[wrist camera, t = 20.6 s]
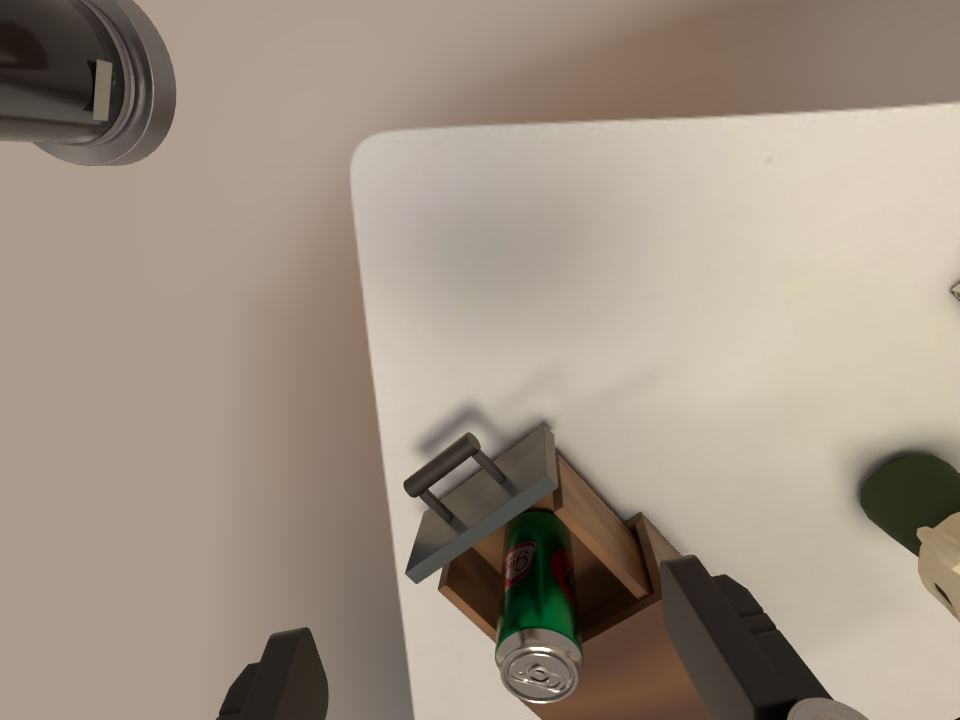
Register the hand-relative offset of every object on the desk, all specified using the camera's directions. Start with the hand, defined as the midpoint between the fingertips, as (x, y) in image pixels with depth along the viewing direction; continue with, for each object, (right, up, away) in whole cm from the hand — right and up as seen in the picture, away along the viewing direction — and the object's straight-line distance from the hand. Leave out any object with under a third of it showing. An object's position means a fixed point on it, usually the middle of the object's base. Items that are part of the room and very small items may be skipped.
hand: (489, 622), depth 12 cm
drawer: (+4, -6, +29) cm, 30 cm away
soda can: (+4, -7, +29) cm, 30 cm away
